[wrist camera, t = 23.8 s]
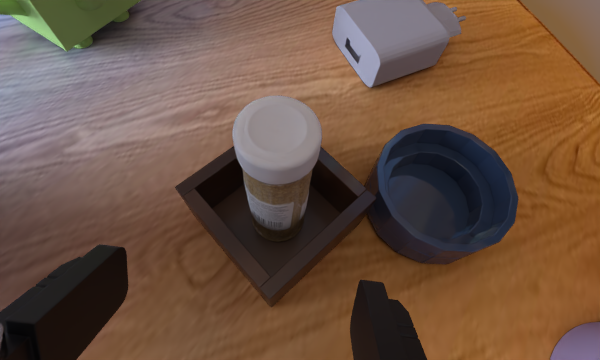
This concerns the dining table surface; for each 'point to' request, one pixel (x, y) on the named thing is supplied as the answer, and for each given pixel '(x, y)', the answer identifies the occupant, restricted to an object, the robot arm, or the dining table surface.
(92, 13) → the kettle
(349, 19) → the charger
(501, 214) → the bowl
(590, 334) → the clip
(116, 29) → the dining table surface
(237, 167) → the box
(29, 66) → the dining table surface
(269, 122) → the sprinkles bottle
